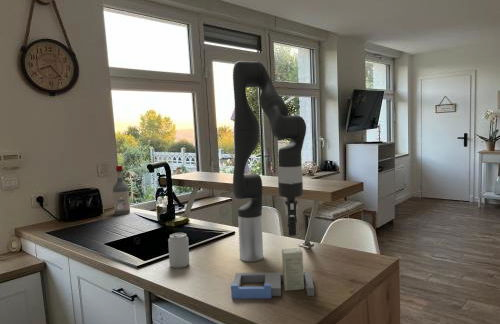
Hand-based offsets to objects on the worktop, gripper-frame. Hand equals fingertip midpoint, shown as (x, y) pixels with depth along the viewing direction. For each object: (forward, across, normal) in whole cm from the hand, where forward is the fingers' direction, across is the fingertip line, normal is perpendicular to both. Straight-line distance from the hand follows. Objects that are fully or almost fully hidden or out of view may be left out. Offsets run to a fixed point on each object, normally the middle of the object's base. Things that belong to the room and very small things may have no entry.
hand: (291, 231), depth 117 cm
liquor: (+18, -108, -101) cm, 149 cm away
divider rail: (+18, +1, -7) cm, 20 cm away
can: (+18, -20, -42) cm, 50 cm away
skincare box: (+19, 0, 0) cm, 19 cm away
